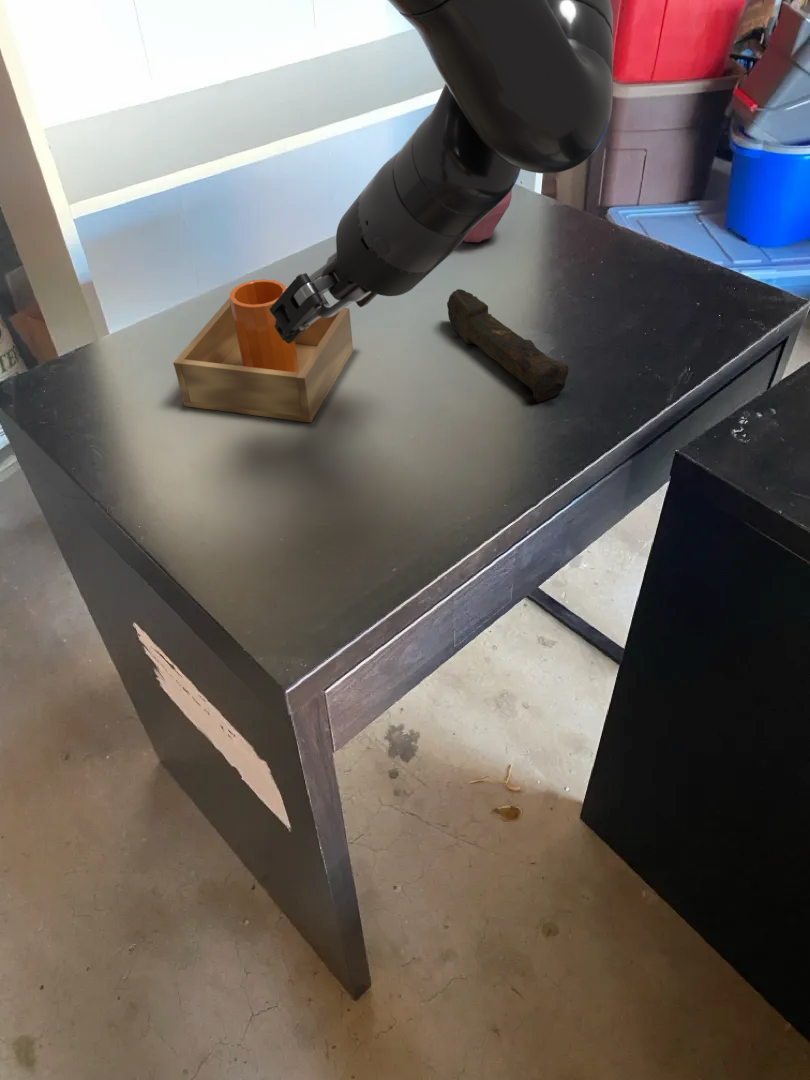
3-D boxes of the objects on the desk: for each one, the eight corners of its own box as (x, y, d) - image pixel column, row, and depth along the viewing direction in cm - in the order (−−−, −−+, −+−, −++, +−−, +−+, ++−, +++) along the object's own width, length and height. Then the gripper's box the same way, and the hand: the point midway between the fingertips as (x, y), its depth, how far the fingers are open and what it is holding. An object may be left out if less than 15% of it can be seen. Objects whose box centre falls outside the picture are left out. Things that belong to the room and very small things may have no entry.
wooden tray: (184, 406, 83) (172, 362, 80) (238, 338, 93) (230, 296, 89) (311, 422, 80) (304, 378, 77) (353, 350, 90) (349, 308, 86)
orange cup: (237, 384, 85) (220, 303, 79) (257, 355, 89) (243, 277, 82) (287, 390, 84) (274, 309, 77) (306, 361, 87) (295, 281, 81)
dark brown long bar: (568, 395, 82) (573, 354, 79) (534, 407, 81) (538, 365, 78) (470, 315, 95) (471, 277, 91) (440, 324, 93) (439, 286, 90)
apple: (480, 218, 114) (482, 142, 107) (523, 238, 109) (528, 159, 102) (425, 238, 110) (424, 160, 103) (468, 260, 105) (469, 179, 98)
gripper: (446, 148, 63) (357, 251, 77) (303, 206, 56) (233, 307, 70) (497, 235, 64) (399, 321, 78) (362, 303, 57) (281, 383, 71)
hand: (320, 314), depth 74 cm, fingers open, 8 cm apart
